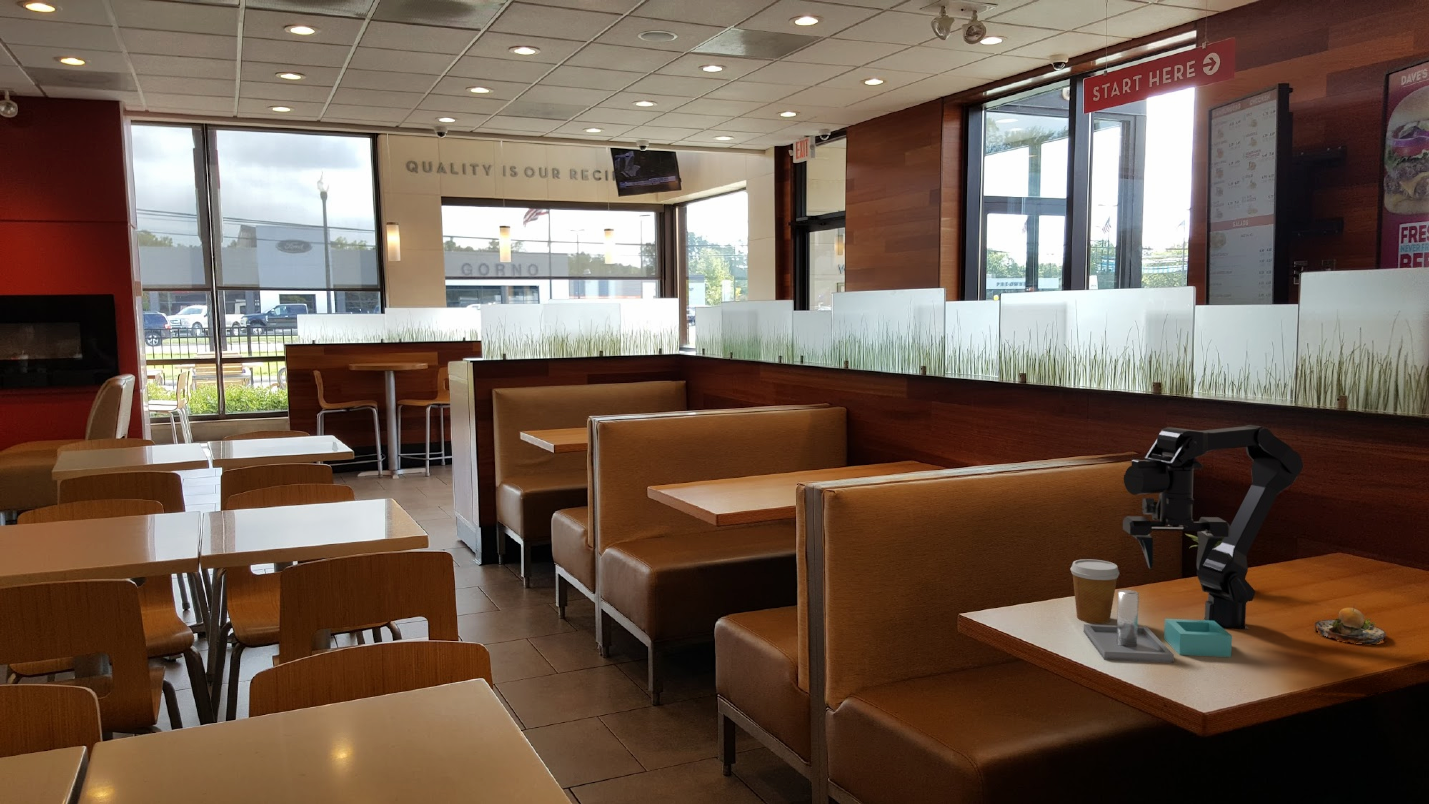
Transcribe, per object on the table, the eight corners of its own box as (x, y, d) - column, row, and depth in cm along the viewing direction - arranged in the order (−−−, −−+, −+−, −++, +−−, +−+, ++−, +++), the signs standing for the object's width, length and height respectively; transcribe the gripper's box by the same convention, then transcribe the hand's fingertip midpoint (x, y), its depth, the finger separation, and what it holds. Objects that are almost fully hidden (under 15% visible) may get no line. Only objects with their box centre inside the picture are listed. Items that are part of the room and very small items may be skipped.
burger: (1391, 636, 192) (1393, 599, 192) (1379, 651, 184) (1382, 612, 183) (1321, 623, 201) (1323, 588, 200) (1307, 637, 192) (1309, 600, 191)
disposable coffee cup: (1109, 614, 206) (1111, 559, 205) (1124, 629, 197) (1126, 570, 196) (1063, 613, 207) (1065, 558, 206) (1075, 627, 198) (1077, 569, 197)
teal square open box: (1212, 643, 188) (1213, 620, 187) (1230, 659, 179) (1232, 635, 179) (1163, 641, 189) (1164, 618, 189) (1179, 657, 180) (1180, 633, 180)
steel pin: (1133, 641, 186) (1135, 590, 185) (1139, 647, 183) (1141, 595, 182) (1114, 640, 187) (1115, 589, 186) (1119, 646, 183) (1121, 594, 182)
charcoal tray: (1146, 636, 192) (1146, 626, 192) (1173, 665, 176) (1173, 654, 176) (1083, 634, 193) (1083, 624, 193) (1104, 662, 178) (1104, 651, 178)
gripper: (1211, 484, 199) (1208, 559, 200) (1116, 484, 201) (1114, 557, 203) (1232, 495, 188) (1230, 573, 189) (1131, 494, 190) (1130, 571, 192)
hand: (1174, 568), depth 194 cm, fingers open, 9 cm apart
